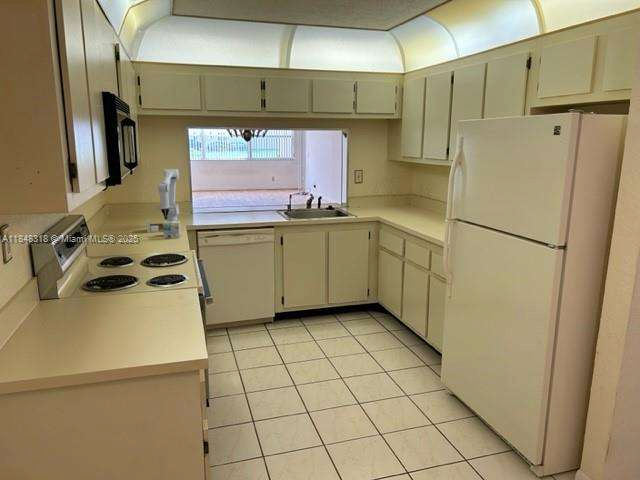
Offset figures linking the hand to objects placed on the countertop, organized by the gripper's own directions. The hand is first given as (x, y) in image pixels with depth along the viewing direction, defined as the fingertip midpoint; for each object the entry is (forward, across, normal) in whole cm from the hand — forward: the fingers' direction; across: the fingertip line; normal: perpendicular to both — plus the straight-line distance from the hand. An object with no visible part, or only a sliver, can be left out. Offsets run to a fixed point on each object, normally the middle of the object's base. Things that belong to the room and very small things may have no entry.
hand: (165, 219), depth 340 cm
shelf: (+9, -4, 0) cm, 10 cm away
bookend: (+8, -12, -1) cm, 14 cm away
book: (+8, -8, 0) cm, 11 cm away
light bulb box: (+10, +4, -18) cm, 21 cm away
